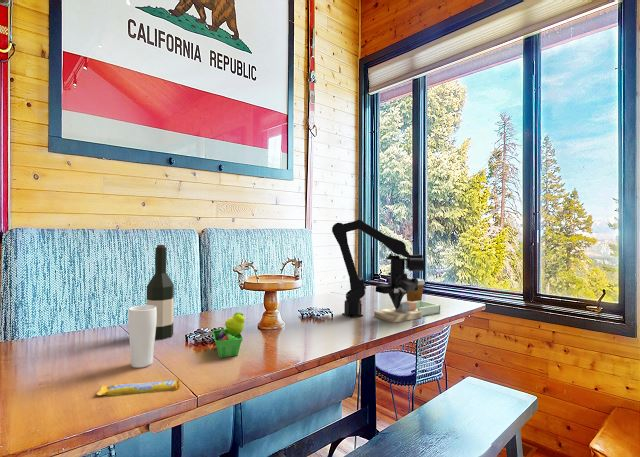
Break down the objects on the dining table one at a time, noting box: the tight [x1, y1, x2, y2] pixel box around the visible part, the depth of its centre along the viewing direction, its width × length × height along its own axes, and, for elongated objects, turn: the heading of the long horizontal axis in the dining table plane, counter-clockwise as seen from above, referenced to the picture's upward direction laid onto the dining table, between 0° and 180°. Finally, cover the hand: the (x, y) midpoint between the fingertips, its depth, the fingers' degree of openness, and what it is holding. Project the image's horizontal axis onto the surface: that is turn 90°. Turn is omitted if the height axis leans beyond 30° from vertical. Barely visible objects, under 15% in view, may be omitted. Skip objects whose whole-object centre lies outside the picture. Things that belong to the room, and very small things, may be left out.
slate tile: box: [394, 301, 409, 312], centre depth 154 cm, size 4×4×3 cm
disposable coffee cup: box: [406, 277, 426, 302], centre depth 178 cm, size 10×10×12 cm
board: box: [373, 307, 423, 324], centre depth 153 cm, size 16×11×2 cm
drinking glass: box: [127, 304, 157, 369], centre depth 97 cm, size 7×7×15 cm
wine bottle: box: [145, 244, 175, 341], centre depth 122 cm, size 8×8×30 cm
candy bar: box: [95, 378, 181, 397], centre depth 83 cm, size 17×4×2 cm, turn 104°
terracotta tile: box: [404, 300, 416, 311], centre depth 157 cm, size 4×4×3 cm
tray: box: [414, 300, 441, 317], centre depth 162 cm, size 13×11×4 cm
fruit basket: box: [212, 311, 246, 358], centre depth 109 cm, size 11×9×11 cm
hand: (396, 308), depth 153 cm, fingers closed
